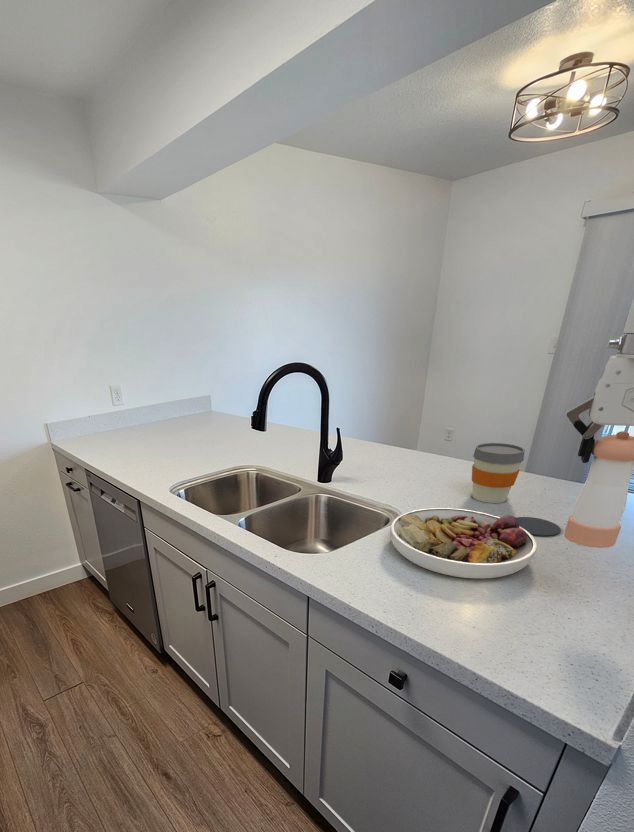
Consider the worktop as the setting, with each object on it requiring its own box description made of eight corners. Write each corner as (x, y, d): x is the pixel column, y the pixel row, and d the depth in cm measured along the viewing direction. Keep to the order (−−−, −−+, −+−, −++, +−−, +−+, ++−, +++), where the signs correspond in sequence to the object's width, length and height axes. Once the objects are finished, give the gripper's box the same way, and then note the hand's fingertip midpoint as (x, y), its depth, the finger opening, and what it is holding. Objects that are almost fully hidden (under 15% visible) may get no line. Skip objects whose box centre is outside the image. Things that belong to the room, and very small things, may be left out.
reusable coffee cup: (512, 508, 123) (525, 456, 116) (463, 501, 129) (472, 451, 122) (513, 493, 132) (526, 444, 125) (467, 488, 138) (477, 441, 131)
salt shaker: (617, 536, 78) (655, 429, 69) (612, 552, 73) (652, 439, 65) (567, 527, 82) (598, 425, 74) (560, 541, 78) (591, 434, 70)
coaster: (558, 522, 113) (558, 520, 113) (561, 539, 105) (562, 538, 105) (509, 515, 118) (509, 514, 118) (508, 531, 110) (508, 530, 110)
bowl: (433, 594, 87) (439, 560, 84) (367, 532, 114) (370, 504, 111) (566, 575, 91) (577, 541, 87) (472, 519, 118) (478, 492, 114)
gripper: (581, 350, 65) (550, 464, 73) (746, 344, 57) (692, 474, 65) (575, 346, 71) (548, 453, 79) (726, 340, 63) (678, 460, 70)
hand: (613, 461), depth 72 cm, fingers closed on salt shaker, 7 cm apart
